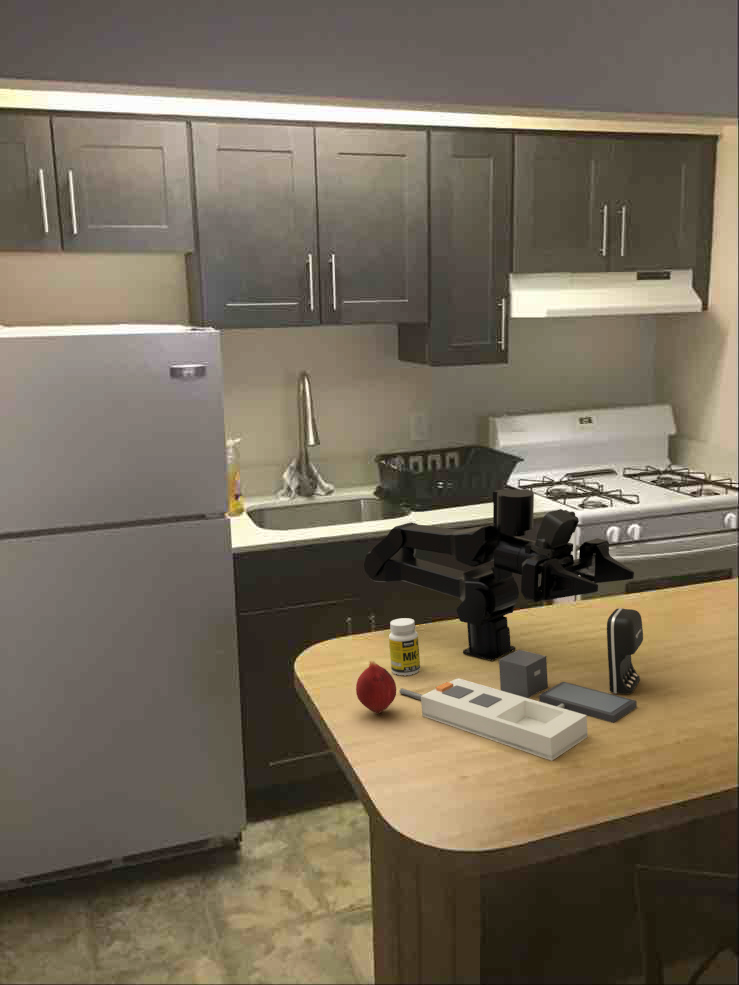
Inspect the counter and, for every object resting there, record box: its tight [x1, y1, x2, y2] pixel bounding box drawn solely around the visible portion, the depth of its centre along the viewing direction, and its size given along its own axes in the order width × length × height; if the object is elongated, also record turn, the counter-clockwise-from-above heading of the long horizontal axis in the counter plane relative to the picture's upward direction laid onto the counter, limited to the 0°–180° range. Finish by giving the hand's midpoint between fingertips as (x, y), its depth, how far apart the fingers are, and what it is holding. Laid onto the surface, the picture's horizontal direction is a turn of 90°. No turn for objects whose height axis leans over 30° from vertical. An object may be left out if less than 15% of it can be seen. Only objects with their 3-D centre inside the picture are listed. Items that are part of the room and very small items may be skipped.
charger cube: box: [498, 649, 549, 699], centre depth 126 cm, size 5×5×5 cm
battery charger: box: [606, 607, 644, 695], centre depth 122 cm, size 7×4×11 cm, turn 150°
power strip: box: [399, 677, 588, 761], centre depth 117 cm, size 30×8×3 cm, turn 43°
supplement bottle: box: [388, 617, 421, 677], centre depth 137 cm, size 5×5×8 cm
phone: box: [538, 681, 637, 724], centre depth 116 cm, size 12×12×1 cm
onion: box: [355, 659, 397, 715], centre depth 121 cm, size 6×6×8 cm
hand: (615, 581), depth 121 cm, fingers open, 9 cm apart
